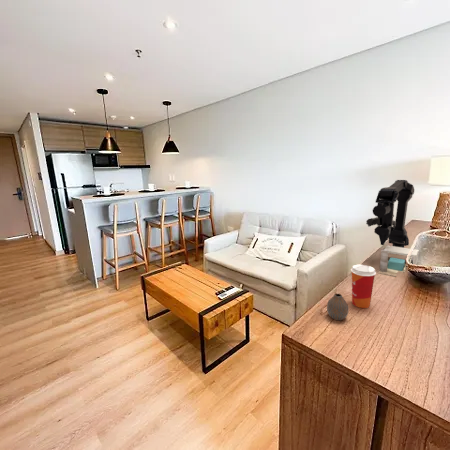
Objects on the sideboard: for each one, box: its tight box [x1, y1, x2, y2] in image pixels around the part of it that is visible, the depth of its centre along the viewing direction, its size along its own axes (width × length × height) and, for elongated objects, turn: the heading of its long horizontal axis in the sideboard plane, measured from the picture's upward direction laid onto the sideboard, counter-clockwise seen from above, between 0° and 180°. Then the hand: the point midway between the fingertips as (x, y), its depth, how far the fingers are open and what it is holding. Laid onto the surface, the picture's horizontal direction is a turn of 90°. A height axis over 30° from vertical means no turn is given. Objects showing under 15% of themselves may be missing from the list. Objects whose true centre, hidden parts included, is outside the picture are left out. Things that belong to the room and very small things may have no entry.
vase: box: [326, 292, 349, 321], centre depth 86 cm, size 7×7×9 cm
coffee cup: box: [350, 263, 377, 309], centre depth 92 cm, size 8×8×15 cm
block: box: [388, 257, 406, 272], centre depth 120 cm, size 6×6×4 cm
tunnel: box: [384, 245, 420, 265], centre depth 127 cm, size 10×14×8 cm
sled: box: [378, 249, 408, 278], centre depth 118 cm, size 14×10×12 cm
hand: (384, 242), depth 126 cm, fingers open, 9 cm apart
